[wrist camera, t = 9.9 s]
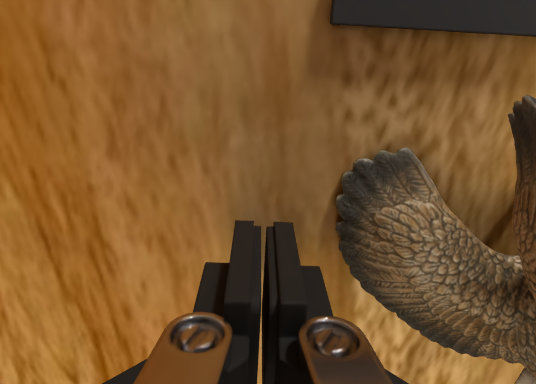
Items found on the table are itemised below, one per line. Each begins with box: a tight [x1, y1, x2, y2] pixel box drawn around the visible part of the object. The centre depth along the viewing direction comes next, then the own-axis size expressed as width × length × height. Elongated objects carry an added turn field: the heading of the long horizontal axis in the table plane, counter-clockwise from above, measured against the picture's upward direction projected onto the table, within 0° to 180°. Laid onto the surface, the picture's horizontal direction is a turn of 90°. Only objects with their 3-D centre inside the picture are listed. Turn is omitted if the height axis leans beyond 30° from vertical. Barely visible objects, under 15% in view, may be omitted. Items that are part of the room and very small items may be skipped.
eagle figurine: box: [336, 95, 536, 384], centre depth 10 cm, size 8×7×9 cm
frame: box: [330, 0, 536, 37], centre depth 13 cm, size 14×16×1 cm
